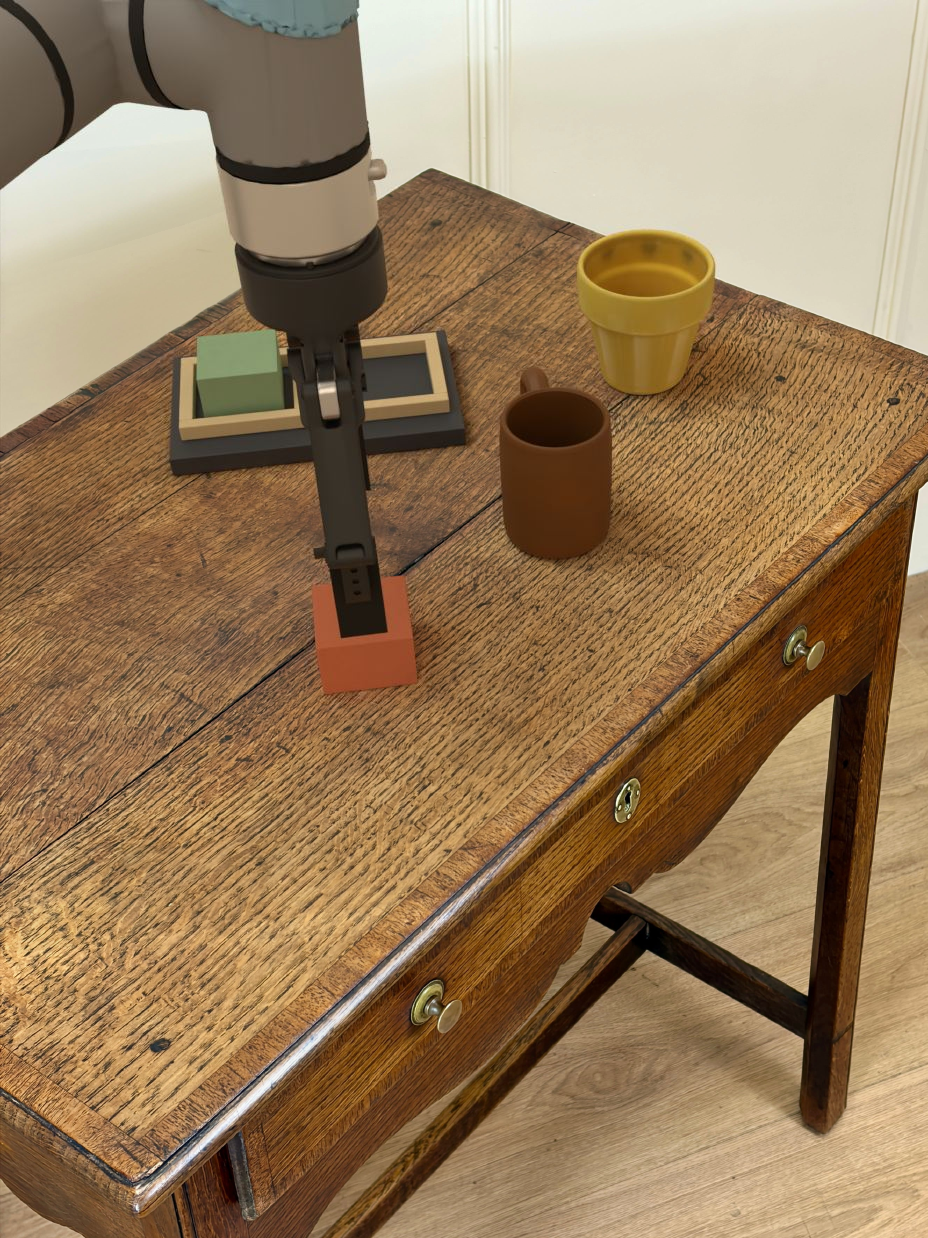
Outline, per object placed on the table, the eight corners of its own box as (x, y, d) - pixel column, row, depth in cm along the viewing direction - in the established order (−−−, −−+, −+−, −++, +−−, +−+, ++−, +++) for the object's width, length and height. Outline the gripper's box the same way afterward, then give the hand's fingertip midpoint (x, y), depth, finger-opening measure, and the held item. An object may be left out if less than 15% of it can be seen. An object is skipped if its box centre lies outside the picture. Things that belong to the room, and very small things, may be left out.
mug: (481, 469, 110) (474, 359, 103) (581, 453, 111) (580, 343, 104) (515, 571, 101) (511, 458, 95) (623, 553, 102) (625, 441, 96)
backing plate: (173, 476, 110) (165, 446, 108) (176, 373, 120) (170, 344, 118) (466, 444, 112) (464, 414, 110) (446, 345, 122) (444, 316, 120)
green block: (206, 424, 112) (196, 379, 109) (206, 381, 116) (197, 336, 113) (285, 416, 113) (277, 371, 110) (283, 373, 117) (275, 328, 114)
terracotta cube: (323, 695, 94) (315, 649, 91) (319, 631, 98) (311, 585, 95) (418, 683, 94) (413, 637, 91) (409, 620, 98) (404, 574, 95)
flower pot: (645, 426, 113) (649, 313, 106) (550, 374, 118) (548, 262, 111) (734, 372, 118) (744, 260, 111) (640, 324, 123) (643, 214, 116)
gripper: (402, 356, 66) (439, 691, 81) (364, 119, 84) (400, 431, 99) (233, 374, 66) (302, 708, 81) (231, 132, 83) (287, 444, 98)
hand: (356, 557), depth 90 cm, fingers open, 13 cm apart
